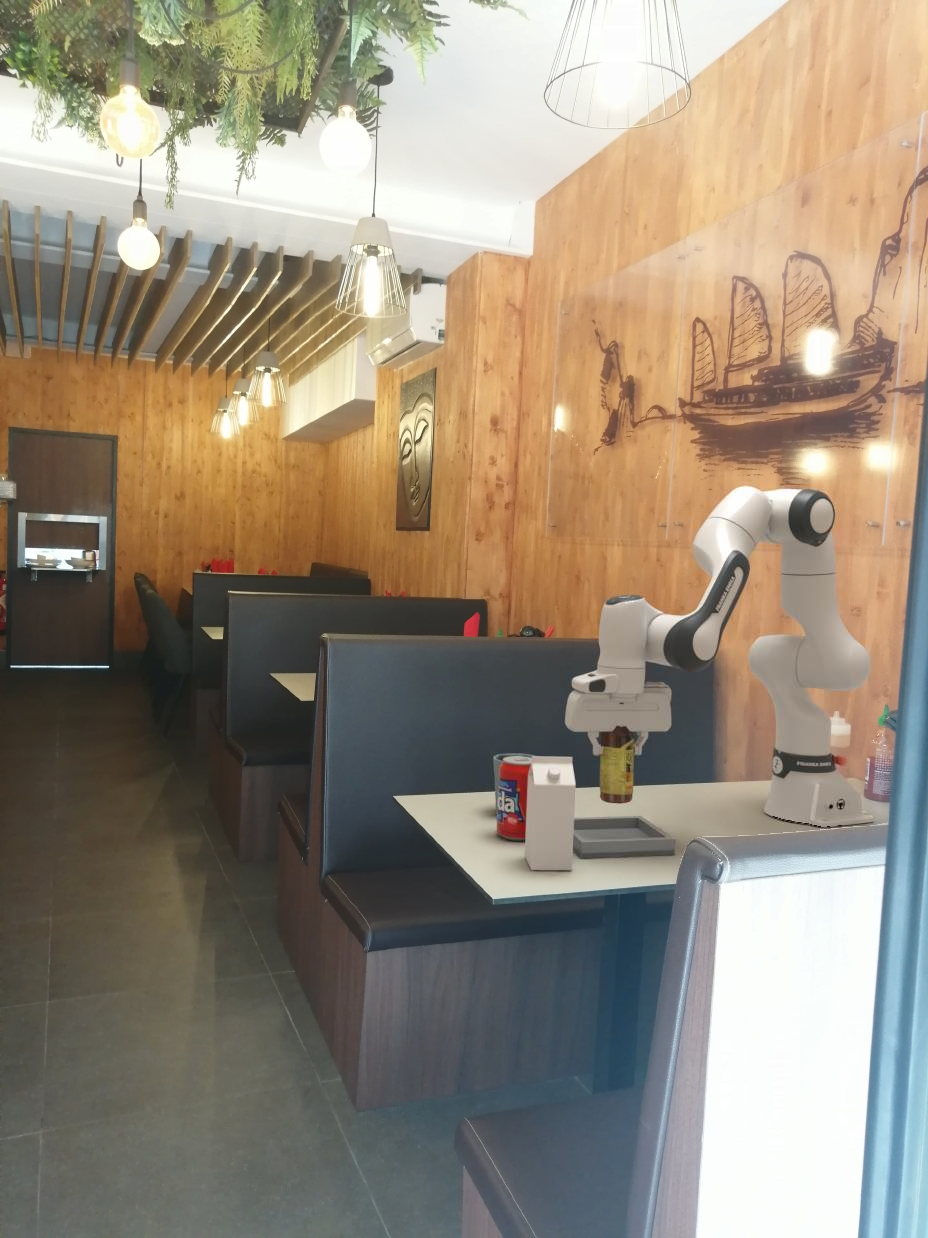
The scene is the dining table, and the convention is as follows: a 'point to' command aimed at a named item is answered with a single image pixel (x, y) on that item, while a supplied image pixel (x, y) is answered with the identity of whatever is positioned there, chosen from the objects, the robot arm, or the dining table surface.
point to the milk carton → (550, 813)
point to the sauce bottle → (617, 765)
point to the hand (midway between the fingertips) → (617, 754)
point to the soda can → (513, 797)
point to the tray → (620, 838)
